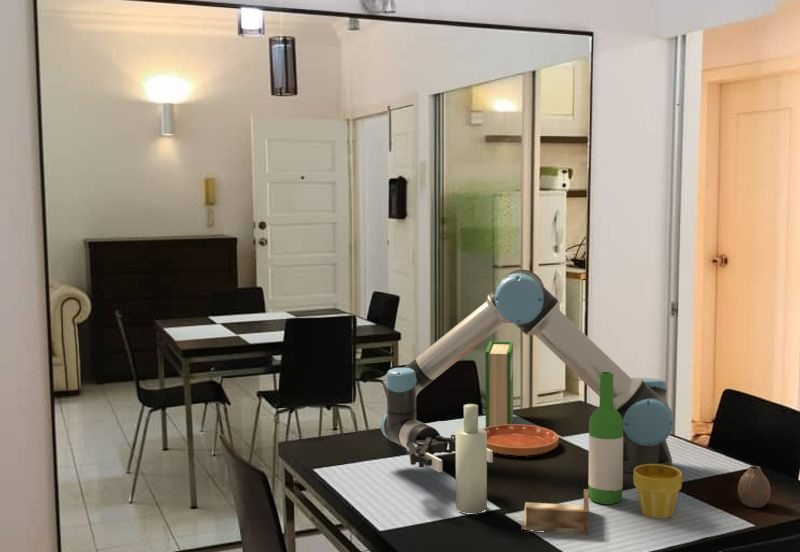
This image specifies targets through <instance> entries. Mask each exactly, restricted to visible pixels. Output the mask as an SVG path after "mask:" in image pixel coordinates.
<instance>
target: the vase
mask: <svg viewBox="0 0 800 552" xmlns="http://www.w3.org/2000/svg"><path fill="white" fill-rule="evenodd" d="M771 493H772V492H771V486H770V481H769V479H768V477H767V476H766V475H765V474H764V473H763V471H762V469H761V467H760V466H756V465H751V466H748V469H747V470H746V472H744V473H743V475H741V477H740V478H739V481H738V485H737V494H738V497H739V500H740V502H742V504H743V505H745V506H746V507H748V508H753V509H755V508H756V509H759V508H760V509H761V508H763V507H765V506H766V504H767V503H768V502H769V500H770V497H771Z"/></svg>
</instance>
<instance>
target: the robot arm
mask: <svg viewBox="0 0 800 552" xmlns="http://www.w3.org/2000/svg"><path fill="white" fill-rule="evenodd" d="M505 324H513V325H514V326H516V327H517V328H518V329H519V330H520V331H521V332H522V333H523V334H525V335H526V336H535V337H536V338H538V340H540V341H541V342H542V343H543V344H544V345H545V346H546V347H547V348H548V349H549V350H550V351H551V352H552V353H553V354H555V355H556V357H558V359H559V360H560V361H562V363H563V364H565V365H566V367H568V368H569V369H570V370H571V371H572V372H573V373H574V374H575V376H577V377H578V378H579V379H580V380H581V381H583V383H585V384H586V385H587V386H588V387H589V388H590V389H591V390H592V391H593V392H594V393H595V394H596V395H597V396H598V397H599V398H600V373H601V372H611V373H613V407H614V408H615V409H616V410H617V411H618V412H619V413H620V415H621V417H622V420H623V472H627V473H631V474H633V470H634V468H635V467H637V466H640V465H644V464H662V465H668V466H672V467H673V458H672V455H671V452H670V448H669V445H668V443H667V439H668V437H669V436H670V435H671V433H672V431H673V427H674V415H673V412H672V409H671V408H670V406H669V403H668V401H667V392H668V389H667V383H666V381H665V380H663V379H659V378H653V377H652V378H649V377H631V376H630V375H628V374H627V372H625V371H624V370H623V369H622V368H621V367H620V366H619V365H618V364H617V363H616V362H615V361H613V359H611V357H609V356H608V355H607V353H605V352H604V351H603V350H602V349H601V348H600V347H599V346H598V345H596V343H595V342H594V341H592V340H591V338H590V337H588V336H587V335H586V334H585V333H584V332H583V331H582V330H581V329H580V328H579V327H578V326H577V325H576V324H574V323H573V321H572V320H570V318H568V317H567V316H566V315H565V314H564V313H563V312H562V311H561V310H560V301H559V299H557V298H556V297H555V296H554V295H553V294H552V293H551V292H550V291H549V290H548V289H547V288H546V287H545V285H544V283H543V281H542V279H541V278H540V277H539V275H537V274H536V273H535V272H533V271H531V270H528V269H517V270H513V271H511V272H510V273H508V274H507V275H505V276H504V278H503V279H502V280H501V281H500V283H498V285H497V287H495V289H493V290H492V291H491V292H490V293H488V294H487V298H486V300H485V302H483V304H481V305H480V306H478V308H476V309H474V311H472V312H471V313H470V314H469V315H467V316H466V317H465V318H464V319H462V320H461V321H460V322H459V323H458V324H456V325H455V326H453V328H451V329H450V330H449V331H448V332H447V333H445V334H444V335H443V336H442V337H441V338H439V339H438V340H437V341H436V342H434V343H433V344H432V345H430V347H428V348H427V349H426V350H425V351H423V352H422V353H421V354H419V355H418V356H417V357H416V358H415V359H414V360H412V361H411V362H410V363H408V364H407V365H404V367H393V368H391V369H389V370H388V371H387V373H386V382H385V386H386V406H387V407H386V414H384V415H383V418H382V420H381V422H380V430H381V433H382V434H383V435H384V437H386V439H388V440H389V441H390V442H393V443H396V444H397V445H399V446H401V447H402V448H405V449H406V454H408V455H409V463H410V465H411V466H414V465H415V466H416V464H417V463H418V468H425V467H429V468H431V469H433V470H434V471H436V472H438V473H442V472H443V459H441V458H439V457H437V456H435V454H441V453H445V454H452V453H453V452H455V453H456V434H451V435H450V437H444V436H442V435H441V434H440V433H439V431H438V430H437V429H436V428H434V427H433V426H431V425H429V424H426V423H424V422H423V421H419V420H417V396H418V395H419V393H420V392H421V391H423V389H424V388H426V387H427V386H428V385H429V384H431V383H432V382H433V381H434V380H436V379H437V377H439V376H440V375H442V374H443V373H444V372H445V371H447V370H448V369H449V368H450V367H452V366H453V365H454V364H456V363H457V362H459V360H460V359H462V358H463V357H464V356H466V355H467V354H468V353H470V351H472V350H473V349H474V348H476V347H477V346H479V344H481V343H483V341H484V340H486V339H487V338H489V337H490V336H491V335H492V334H493V333H495V332H496V331H497V330H498V329H500V328H502V326H503V325H505ZM493 456H494V453H493V451H492V450H490V449H488V448H487V463H493V462H494V460H493V459H494V457H493Z"/></svg>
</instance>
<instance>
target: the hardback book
mask: <svg viewBox="0 0 800 552" xmlns="http://www.w3.org/2000/svg"><path fill="white" fill-rule="evenodd" d="M484 353H485V354H484V356H485V357H484V358H485V363H484V365H485V367H484V368H485V369H484V370H485V371H484V372H485V374H484V375H485V382H484V383H485V428H486V427H490V426H495V425H505V424H513V420H514V419H513V418H514V341H489V342H488V344H487V347H486V349H485V352H484ZM512 419H513V420H512Z"/></svg>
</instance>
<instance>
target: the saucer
mask: <svg viewBox="0 0 800 552" xmlns="http://www.w3.org/2000/svg"><path fill="white" fill-rule="evenodd" d="M482 429H484V430H486V432H487V448H488V449H490V450H492V451H493V452H494V453H493V454H496V453H499V454H498V455H500V454H505V455H504V456H506V455H516V456H515V457H517V456H526V457H529V456H528V455H537V454H541V455H544V454H543V453H545V454H547V453H549V452H551V451H552V450H554V449H556V448H557V447H559V438H560V437H559V435H558V433H556V432H555V431H554V430H551V429H548V428H546V427H542V426H539V425H538V426H537V425H531V424H519V423H518V424H516V423H512V424H505V425H495V426H490V427H486V426H485V427H483V428H482ZM548 451H549V452H548ZM546 452H547V453H546ZM537 456H538V455H537Z"/></svg>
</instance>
